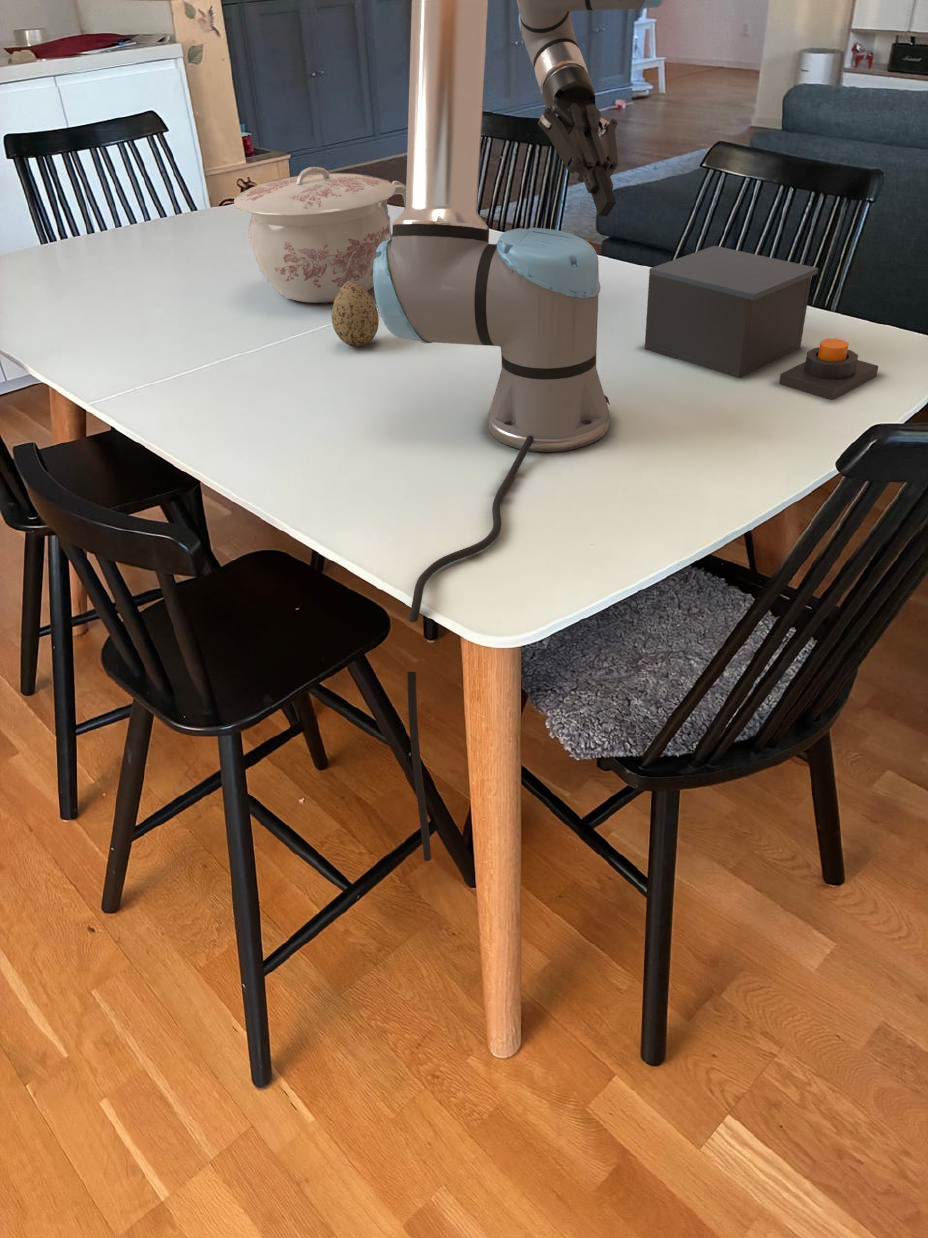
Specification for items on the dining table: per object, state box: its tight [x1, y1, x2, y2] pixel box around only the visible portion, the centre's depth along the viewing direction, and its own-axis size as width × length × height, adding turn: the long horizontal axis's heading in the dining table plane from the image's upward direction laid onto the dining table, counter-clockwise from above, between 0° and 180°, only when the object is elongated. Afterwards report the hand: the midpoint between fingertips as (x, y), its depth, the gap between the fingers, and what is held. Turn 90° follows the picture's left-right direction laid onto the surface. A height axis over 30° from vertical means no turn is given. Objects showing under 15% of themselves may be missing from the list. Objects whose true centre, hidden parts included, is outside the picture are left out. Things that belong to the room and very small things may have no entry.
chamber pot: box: [233, 166, 406, 304], centre depth 168 cm, size 28×28×21 cm
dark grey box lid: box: [648, 245, 819, 300], centre depth 136 cm, size 18×15×1 cm
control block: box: [778, 346, 879, 401], centre depth 131 cm, size 8×11×4 cm
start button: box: [818, 338, 850, 361], centre depth 130 cm, size 4×4×2 cm
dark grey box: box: [644, 274, 813, 379], centre depth 140 cm, size 17×15×11 cm
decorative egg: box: [331, 281, 380, 348], centre depth 149 cm, size 7×7×10 cm
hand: (607, 208), depth 140 cm, fingers closed
